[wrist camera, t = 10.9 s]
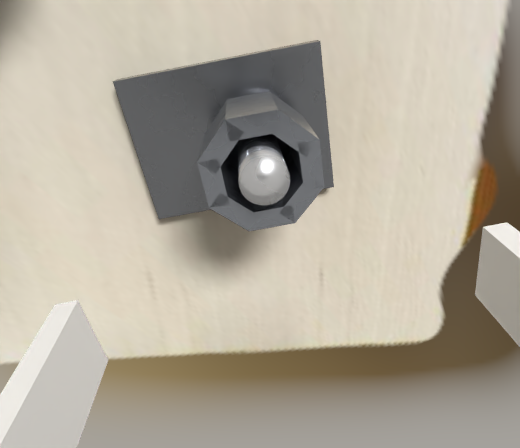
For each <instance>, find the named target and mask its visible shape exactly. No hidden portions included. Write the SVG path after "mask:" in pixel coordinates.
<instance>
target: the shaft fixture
mask: <svg viewBox="0 0 520 448" xmlns="http://www.w3.org/2000/svg"><path fill="white" fill-rule="evenodd" d="M113 83H114V86H115V89H116V92H117V95H118V98H119V101H120V104H121V107H122V110H123V113H124V116H125V119H126V122H127V125H128V128H129V131H130V134H131V137H132V140H133V143H134V146H135V149H136V152H137V155H138V158H139V161H140V164H141V167H142V170H143V173H144V176H145V179H146V182H147V185H148V188H149V191H150V194H151V197H152V200H153V203H154V206H155V209H156V212H157V215H158V218H159V219H162V218H168V217H173V216H178V215H184V214H189V213H195V212H200V211H206V210H211V209H210V208H209V206H208V202H207V198H206V195H205V191H204V187H203V183H202V179H201V175H200V172H199V168H198V164H197V161H198V157H199V153H200V150H201V146H202V142H203V138H204V134H205V133H206V131H207V130H208V128H209V126H210V125H211V123H212V122H213V120H214V119H215V117H216V115H217V114H218V112H219V111H220V109H221V108H222V106H223V104H224V103H225V101H226V100H227V99H230V98H235V97H240V96H246V95H251V94H256V93H261V92H266V91H270V92H271V93H273V94H274V95H275V96H277V97H278V98H279V99H281V100H282V101H283V102H285V103H286V104H288V105H289V106H290V107H292V108H293V109H294V110H296V111H297V112H299V113H300V114H301V115H303V117H304V118H305V120H306V121H307V122H308V124H309V125H310V127H311V128H312V129H313V131H314V132H315V134H316V135H317V137H318V138H319V139H320V148H321V158H322V167H323V177H324V186H325V187H324V188H323V189H325V188H330V187H334V184H333V173H332V163H331V152H330V141H329V130H328V120H327V109H326V98H325V88H324V77H323V66H322V56H321V45H320V41H318V40H316V41H311V42H305V43H300V44H295V45H290V46H285V47H280V48H275V49H270V50H265V51H260V52H254V53H249V54H244V55H239V56H234V57H229V58H224V59H219V60H214V61H209V62H203V63H198V64H193V65H188V66H183V67H178V68H173V69H168V70H163V71H158V72H153V73H147V74H142V75H137V76H132V77H127V78H122V79H117V80H115V81H113ZM289 152H290V148H289V145H288V144H286V143H285V142H284V141H282V140H281V139H279V138H278V137H276V136H275V135H273V134H268V135H263V136H257V137H252V138H247V139H241V140H238V142H237V143H236V145H235V146H234V148H233V149H232V151H231V152H230V154H229V155H228V162H229V163H230V164H231V165H233V166H234V167H236V168H238V171H239V187H240V190H241V193H242V194H243V196H244V197H245V198H246V199H247V200H249V201H250V202H252V203H254V204H258V205H270V204H273V203H276V202H278V201H279V200H281V199H282V198H283V197H284V196H285V194H286V193H287V191H288V189H289V186H290V175H289V172H288V169H287V166H286V163H285V161H284V159H285V158H286V156H287V155H288V154H289Z"/></svg>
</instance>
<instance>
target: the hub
mask: <svg viewBox="0 0 520 448" xmlns="http://www.w3.org/2000/svg"><path fill="white" fill-rule="evenodd" d="M268 134H273V135H275V136H276V137H278V138H279V139H281V140H282V141H284V142H285V143H286V144H288V145H289V148H290V152H289V154H288V155H287V156H286V158H285V159H284V161H285V163H286V166H287V169H288V172H289V175H290V186H289V189H288V191H287V193H286V194H285V196H284V197H283V198H282V199H281V200H279V201H278V202H276V203H273V204H270V205H258V204H254V203H252V202H250V201H249V200H247V199H246V198H245V197H244V196H243V194H242V193H241V190H240V187H239V171H238V168H236V167H234V166H233V165H231V164H230V163H229V162H228V155H229V154H230V152H231V151H232V149H233V148H234V146H235V145H236V143H237V142H238V140H241V139H247V138H252V137H257V136H263V135H268ZM197 164H198V168H199V172H200V175H201V179H202V183H203V187H204V191H205V195H206V198H207V202H208V206H209V208H210V209H212V210H213V211H215V212H217V213H218V214H220V215H222V216H224V217H225V218H227V219H229V220H230V221H232V222H234V223H236V224H237V225H239V226H241V227H242V228H244V229H246V230H248V231H254V230H259V229H265V228H270V227H276V226H281V225H287V224H292V223H295V222H296V221H297V220H298V219H299V218H300V216H301V215H302V214H303V213H304V211H305V210H306V209H307V208H308V206H309V205H310V204H311V203H312V202H313V200H314V199H315V198H316V197H317V195H318V194H319V193H320V192H321V191H322V189H323V188H324V187H325V186H324V177H323V167H322V158H321V148H320V139H319V138H318V137H317V135H316V134H315V132H314V131H313V129H312V128H311V127H310V125H309V124H308V122H307V121H306V120H305V118H304V117H303V115H301V114H300V113H299V112H297V111H296V110H294V109H293V108H292V107H290V106H289V105H288V104H286V103H285V102H283V101H282V100H281V99H279V98H278V97H277V96H275V95H274V94H273V93H271V92H270V91H266V92H261V93H256V94H251V95H246V96H240V97H235V98H230V99H227V100H226V101H225V103H224V104H223V106H222V108H221V109H220V111H219V112H218V114H217V115H216V117H215V119H214V120H213V122H212V123H211V125H210V126H209V128H208V130H207V131H206V133H205V134H204V138H203V142H202V146H201V150H200V153H199V157H198V161H197Z"/></svg>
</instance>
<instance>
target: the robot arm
mask: <svg viewBox="0 0 520 448" xmlns="http://www.w3.org/2000/svg"><path fill="white" fill-rule="evenodd" d="M475 295H476V297H477V298H478V299H479V300H480V301H481V302H482V303H483V305H484V306H485V307H486V308H487V309H488V311H489V312H490V313H491V314H492V315H493V316H494V318H495V319H496V320H497V321H498V322H499V323H500V324H501V326H502V327H503V328H504V329H505V330H506V331H507V332H508V334H509V335H510V336H511V337H512V338H513V340H514V341H515V342H516V343H517V344H518V345H519V347H520V232H519V231H518V230H516V229H515V228H514V227H512V226H511V225H510V224H508V223H502V224H497V225H491V226H486V227H483V231H482V240H481V249H480V257H479V266H478V274H477V283H476V292H475ZM107 362H108V358H107V356H106V354H105V352H104V350H103V348H102V346H101V344H100V342H99V340H98V338H97V336H96V334H95V332H94V330H93V328H92V327H91V325H90V323H89V321H88V319H87V317H86V315H85V313H84V311H83V309H82V307H81V305H80V303H79V301H78V300H76V301H71V302H65V303H60V304H55V305H54V307H53V309H52V310H51V312H50V314H49V315H48V317H47V319H46V320H45V322H44V323H43V325H42V327H41V328H40V330H39V332H38V333H37V335H36V337H35V338H34V340H33V342H32V343H31V345H30V346H29V348H28V350H27V351H26V353H25V355H24V356H23V358H22V360H21V361H20V363H19V365H18V366H17V368H16V370H15V371H14V373H13V374H12V376H11V378H10V379H9V381H8V383H7V384H6V386H5V388H4V389H3V391H2V393H1V394H0V448H77V446H78V443H79V440H80V438H81V435H82V432H83V429H84V426H85V423H86V421H87V418H88V415H89V412H90V410H91V407H92V404H93V401H94V398H95V395H96V393H97V390H98V387H99V384H100V381H101V379H102V376H103V373H104V370H105V368H106V365H107Z"/></svg>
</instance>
